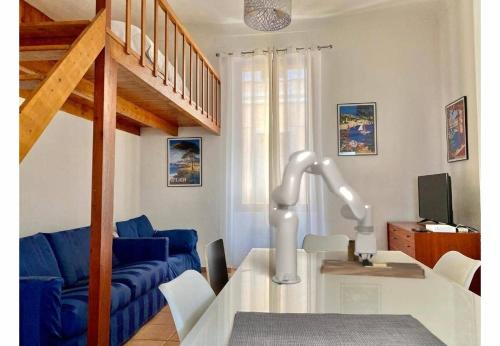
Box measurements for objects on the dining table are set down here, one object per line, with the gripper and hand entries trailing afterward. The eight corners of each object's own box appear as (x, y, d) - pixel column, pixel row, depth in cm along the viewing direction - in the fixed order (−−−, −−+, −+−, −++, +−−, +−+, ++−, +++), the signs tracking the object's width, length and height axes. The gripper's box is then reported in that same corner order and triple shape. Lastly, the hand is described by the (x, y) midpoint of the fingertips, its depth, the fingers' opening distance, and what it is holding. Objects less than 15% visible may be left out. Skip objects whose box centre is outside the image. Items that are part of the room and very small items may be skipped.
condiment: (352, 260, 208) (352, 239, 209) (365, 263, 202) (365, 240, 202) (344, 262, 204) (344, 240, 204) (357, 265, 197) (357, 242, 197)
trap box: (424, 278, 169) (424, 269, 169) (321, 273, 179) (321, 264, 179) (418, 272, 181) (418, 263, 181) (322, 267, 191) (322, 259, 191)
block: (386, 275, 175) (386, 264, 176) (373, 275, 177) (373, 264, 177) (384, 272, 181) (384, 262, 181) (371, 271, 183) (371, 261, 183)
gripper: (349, 230, 179) (350, 268, 178) (382, 230, 176) (383, 270, 175) (349, 228, 186) (349, 265, 186) (380, 228, 183) (381, 266, 183)
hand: (365, 267), depth 180 cm, fingers closed
